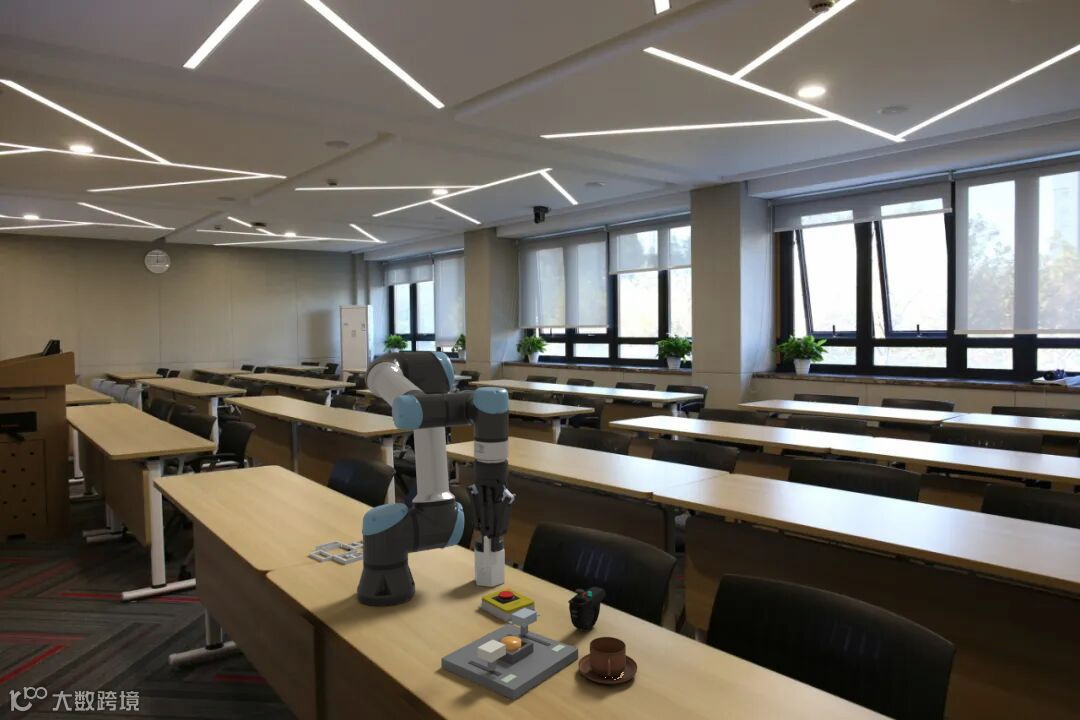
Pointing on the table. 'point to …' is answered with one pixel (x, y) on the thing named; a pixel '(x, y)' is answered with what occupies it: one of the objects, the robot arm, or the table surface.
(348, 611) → the table surface
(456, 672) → the control panel
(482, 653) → the off-white rectangular box
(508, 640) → the amber button
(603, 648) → the cup and saucer
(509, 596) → the emergency button
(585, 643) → the table surface
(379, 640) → the table surface
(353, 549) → the floor plan model
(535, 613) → the slate lever
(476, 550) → the jar
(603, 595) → the controller
